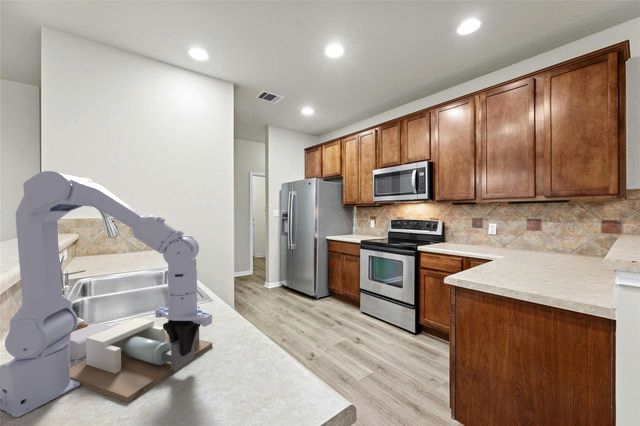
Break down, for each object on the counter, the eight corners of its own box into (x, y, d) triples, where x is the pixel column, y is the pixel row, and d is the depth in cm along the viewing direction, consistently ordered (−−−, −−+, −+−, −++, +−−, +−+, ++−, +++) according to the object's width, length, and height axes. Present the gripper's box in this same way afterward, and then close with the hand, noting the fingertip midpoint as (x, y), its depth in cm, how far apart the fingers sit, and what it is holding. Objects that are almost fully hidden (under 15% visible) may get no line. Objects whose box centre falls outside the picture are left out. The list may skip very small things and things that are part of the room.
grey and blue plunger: (175, 376, 56) (175, 344, 56) (122, 360, 62) (121, 332, 62) (194, 363, 60) (194, 334, 60) (143, 350, 66) (142, 323, 66)
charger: (138, 334, 78) (78, 361, 64) (117, 329, 81) (55, 355, 67) (138, 318, 78) (77, 342, 64) (117, 314, 81) (54, 336, 67)
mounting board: (127, 402, 50) (127, 397, 50) (59, 377, 58) (59, 372, 58) (212, 346, 71) (212, 342, 71) (153, 333, 78) (153, 329, 78)
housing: (135, 380, 55) (135, 350, 55) (86, 364, 61) (86, 337, 61) (199, 342, 71) (199, 319, 71) (155, 332, 77) (155, 311, 77)
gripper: (221, 289, 59) (222, 349, 59) (174, 283, 64) (174, 339, 65) (197, 299, 53) (197, 367, 53) (146, 292, 58) (146, 353, 58)
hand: (183, 352), depth 58 cm, fingers closed on grey and blue plunger
